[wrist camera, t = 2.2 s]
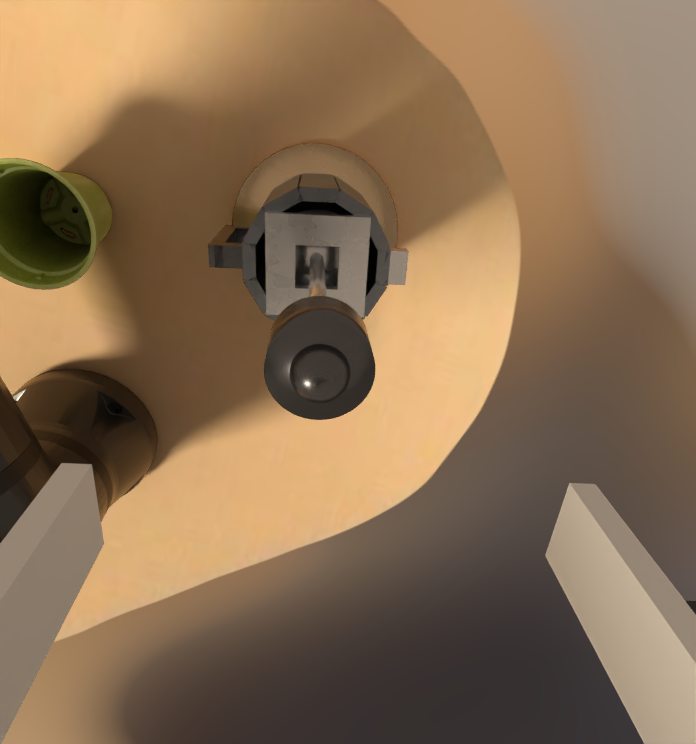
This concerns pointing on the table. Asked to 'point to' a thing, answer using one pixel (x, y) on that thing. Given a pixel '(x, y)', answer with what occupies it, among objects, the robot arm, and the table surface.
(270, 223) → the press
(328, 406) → the plunger
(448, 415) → the table surface
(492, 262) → the table surface
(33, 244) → the plant pot
